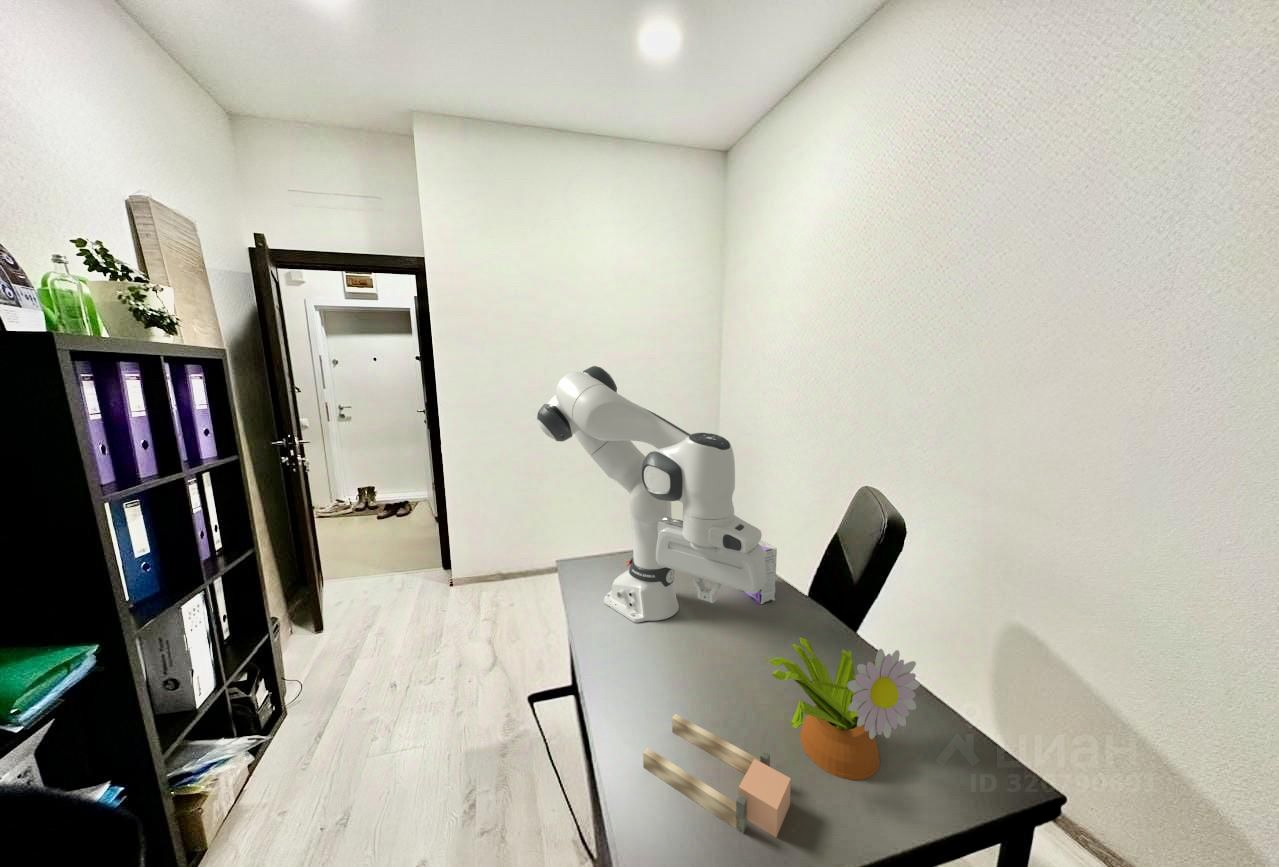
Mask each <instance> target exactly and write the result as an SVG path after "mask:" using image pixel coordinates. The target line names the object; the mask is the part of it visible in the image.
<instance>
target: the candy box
mask: <svg viewBox="0 0 1279 867" xmlns="http://www.w3.org/2000/svg"><path fill="white" fill-rule="evenodd" d="M758 544H759V545H760V546H761V547H762V549H763V551H764V555H765V563H766V582H765V585H764V586H763V588H762V589H761V590H760V591H759V592H757V593H756V594H751V593H748V592H745V591H742V592H744V593H745V595H746V596H749V598H751V599H753V601H755V602H756V603H758V604H759V605H763V604H768V603H771V602H776V585H777V584H776V580H777V577H776V576H777V553H778V552H777V551H778V548H777V547H775V546H773V545H772V544H769V543H768V542H766V541H764V540H762V539H761V540H760V541H759V543H758Z"/></svg>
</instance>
